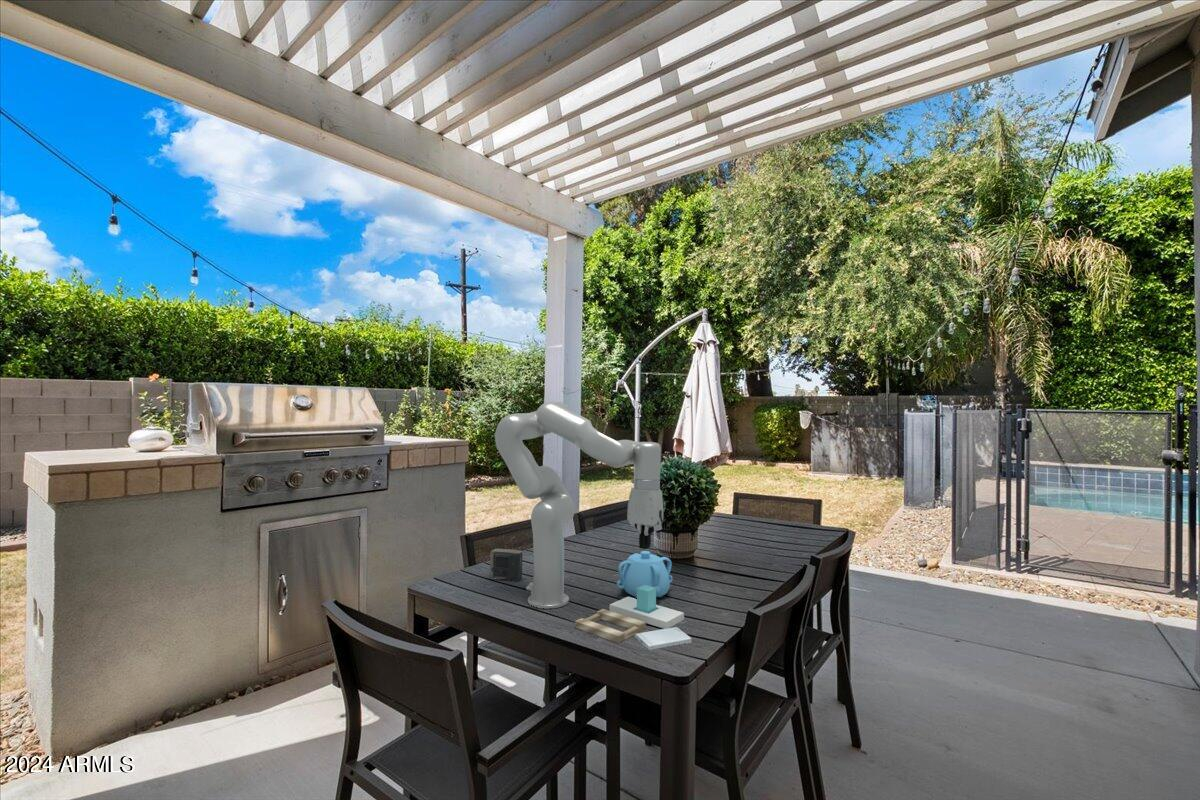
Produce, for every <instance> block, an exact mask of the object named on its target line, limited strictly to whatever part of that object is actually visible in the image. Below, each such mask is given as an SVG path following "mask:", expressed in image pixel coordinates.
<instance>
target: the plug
mask: <svg viewBox="0 0 1200 800" xmlns="http://www.w3.org/2000/svg"><path fill="white" fill-rule="evenodd" d="M656 605H657V597H656V588H655V587H651V586H647V585H643V586H641V587H638V588H637V610H638V611H641V612H645V613H648V614H649V613H651V612H653V611H655V610H656Z"/></svg>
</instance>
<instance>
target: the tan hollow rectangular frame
mask: <svg viewBox="0 0 1200 800" xmlns="http://www.w3.org/2000/svg"><path fill="white" fill-rule="evenodd" d="M600 620H602V621H605V622H607V623H611V624H614V625H617V626H620V627H623V628H625V629H627V630H625V631H621V630H618V629H615V628H612V627H610V626H607V625H603V624H600V623H599V622H597V621H600ZM646 624H647V623H646V622H643V621H640V620H637V619H634V618H630V617H627V616H624V615H621V614H618V613H615V612H612V611H609V610H608V609H605V608H602V609H600V610H596V613H594V614H593V615H590V616H589V617H587V618H583V617H581V618H578V619H577V620H574V628H575V627H576V629H577V628H579V629H578V630H580V629H581V631H583V632H586V633H589V634H592V635H594V636H597V637H599V638H603V639H604V640H605V639H606V640H608V641H610V642H614V643H616V644H619V643H621V642H623V641H625V640H627V639H629V638H631V637H633V636H635V634H637V633H642V631H645V630H646Z"/></svg>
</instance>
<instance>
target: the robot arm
mask: <svg viewBox="0 0 1200 800" xmlns="http://www.w3.org/2000/svg"><path fill="white" fill-rule="evenodd" d="M550 433H553V434H555V435H556V436H558V437H560V438H563V439H565V440H566V441H568V442H571V444H574V445H576V447H577V448H579V449H580V450H581V451H582V452H584V453H585V454H586V455H588V456H590V457H591V458H592V459H595V460H596V461H599V462H601V463H602V464H604V465H606V466H609V467H612V468H622V467H625V466H628V465H634V467H633V469H634V471H633V478H631V480H630V481H631V483H632V484H633V487H632V488H630V492H629V497H628V503H627V510H626V512H627V514H626V517H627V521H628V522H629V525H631V526H632V527H634V528H635V529H636V533H637V534H638V543H639V545H638V546H639V549H643V550H646V549H649V548H651V543H652V542H651V541H652V539H651V537H652V535H653V533H654V532H656V531H657V532H658V531H660V530H662V529H663V527H662V526H663V525H662V524H663V522H664V501H663V493H662V492H663V491H662V490H660V489H661V488H660V487H661V484H660V483H661V464H662V463H661V462H662V461H661V459H662V458H661V456H662V455H661V454H662V447H661V444H659V443H658V442H654V441H636V440H631V439H620V440H616V439H613V438H612V437H610V436H607V435H605V434H603V433H601V432H600V431H598V430H597V429H596V428H595V427H594V426H593V425H592V421H591V420H589V419H588V418H586V417H584V416H582V415H580V414H578V413H576V412H575V411H573V410H572V409H571V407H570V406H569V405H567V404H566V403H564V402H561V401H559V402H558V401H548V402H544V403H542V404H541V405H540V406H539V407H538V408H537V410H535V411H532V412H526V413H525V412H524V413H521V412H519V413H518V412H517V413H511V414H508V415H506V416H504V417H502V419H501V420H500V421H499V422H498V424H497V427H496V429H495V435H494V441H495V446H496V448H497V450H498V453H499V455H500V456H501V457H502V460H503V461H504V463H505V464H506V466H507V468H508V470H509V472H510V474H511V476H512V479H514V482H515V484H516V485H517V488H518V490H519V491H520V493H521V494H522V496H523V497H525V498H526V499H529V500H535V499H540V501H539V502H538V503H536V504H535V505H534V507H533V508H532V511H531V514H530V522H531V523H530V524H531V530H532V540H533V541H532V543H533V548H532V549H533V550H532V551H533V553H532V554H533V556H532V557H533V559H532V564H533V565H532V567H533V568H532V572H533V573H532V574H533V575H532V576H533V577H532V581H531V582H529V583H528V585H527V586H526V588H525V589H526V591H529V592H530V595H529V596H528V598H527V604H528V603H529V604H528V605H529V606H531V605H532V606H531V607H533V606H534V607H533V608H536V607H537V608H538V609H543V608H544V609H547V610H549V609H550V608H551V609H557V608H558V609H559V608H562V607H564V606H566V605H568V604H569V602H570V597H569V595H567V594H566V593H565V539H564V537H565V536H564V534H563V526H564V525H566V524H567V523H569V522H571V520H572V519H573V517H574V516H575V504H574V501H573V499H572V497H571V495H570V494H569V491H568V489H567V488H566V486H565V484H564V483H563V481H562V479H561V477H560V476H559V475H558V473H557V471H555V470H554V469H553V468H552V467H550V466H546V465H540V466H539V464H538V463H537V462H536V460H535V457H534V455H533V454H532V452H531V451H530V449H528V447H527V446H526V445H525V443H524V441H523V440H525V441H526V440H532V439H536V438H539V437H543V436H545V435H548V434H550ZM537 608H536V609H537ZM544 609H543V610H544ZM551 609H550V610H551Z"/></svg>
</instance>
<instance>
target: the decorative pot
mask: <svg viewBox="0 0 1200 800" xmlns="http://www.w3.org/2000/svg"><path fill="white" fill-rule="evenodd" d="M626 559H627V560H623V561H621V562H620V563H619V564H618V567H617V571H618V575H619V578H620V579H618V580H617V582H616V587H617V588H618V589H620V590H622V589H624V590H625V592H626V593H627V594H629V595H631V596H632V597H634V598H635V599H636V598H637V588H638V587H641V586H643V585H647V586H651V587H655V588H656V598H662V597H664V596H665V595H666V594H667V593H668V591H669V589H670V587H671V584H670V583H672V582H673V579H674V578H673V576H672V574H670V573H671V571H672V566H673V565H672V564H673V563H672V560H671V559H670V558H668V557H666V556H661V557H660V556H658V555H656V554H653V553H651V552H650V551H648V550H643V551H640V553H638V552H636V553H633V554H631V555H630V556H628V558H626ZM665 561H667V565H665V563H664V562H665ZM622 569H623V570H622ZM620 583H621V584H620ZM661 596H662V597H661Z"/></svg>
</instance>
